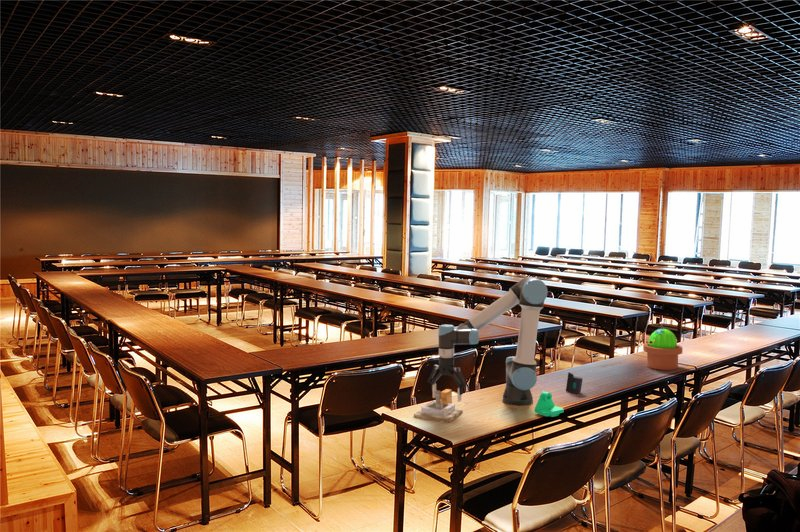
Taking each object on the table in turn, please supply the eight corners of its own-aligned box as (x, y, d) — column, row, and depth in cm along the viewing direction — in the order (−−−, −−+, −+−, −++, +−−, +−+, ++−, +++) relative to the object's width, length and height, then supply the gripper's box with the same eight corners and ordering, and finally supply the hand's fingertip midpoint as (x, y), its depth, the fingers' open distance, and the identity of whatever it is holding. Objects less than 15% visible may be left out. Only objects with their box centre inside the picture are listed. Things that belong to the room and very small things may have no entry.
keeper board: (429, 407, 291) (429, 384, 290) (462, 413, 282) (462, 388, 281) (413, 416, 277) (413, 392, 277) (448, 422, 268) (448, 397, 268)
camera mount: (546, 418, 273) (546, 397, 272) (534, 414, 279) (534, 393, 279) (564, 414, 279) (564, 393, 278) (552, 410, 285) (552, 389, 285)
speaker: (566, 393, 312) (568, 374, 312) (565, 391, 318) (567, 372, 318) (581, 395, 311) (583, 376, 311) (580, 392, 317) (582, 373, 316)
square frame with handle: (444, 417, 271) (444, 400, 271) (421, 413, 278) (421, 397, 277) (460, 406, 287) (460, 390, 286) (438, 403, 293) (438, 387, 293)
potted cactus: (669, 362, 380) (670, 324, 378) (688, 370, 358) (689, 330, 357) (637, 363, 378) (637, 325, 377) (654, 371, 357) (654, 331, 355)
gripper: (420, 355, 289) (420, 397, 291) (466, 360, 277) (467, 404, 278) (427, 352, 296) (427, 393, 297) (473, 357, 283) (473, 400, 285)
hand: (446, 399), depth 288 cm, fingers open, 13 cm apart
